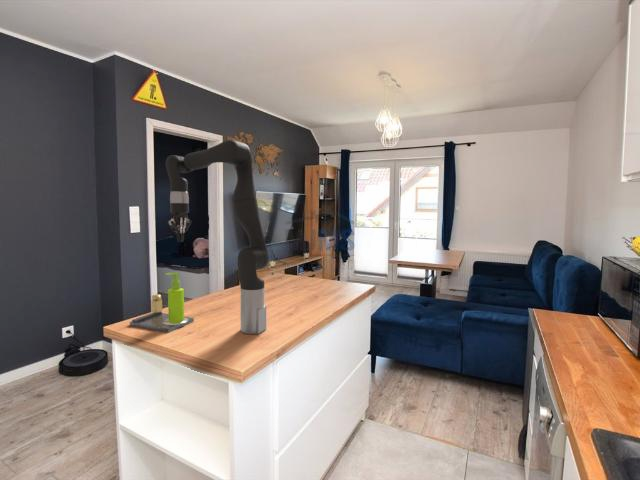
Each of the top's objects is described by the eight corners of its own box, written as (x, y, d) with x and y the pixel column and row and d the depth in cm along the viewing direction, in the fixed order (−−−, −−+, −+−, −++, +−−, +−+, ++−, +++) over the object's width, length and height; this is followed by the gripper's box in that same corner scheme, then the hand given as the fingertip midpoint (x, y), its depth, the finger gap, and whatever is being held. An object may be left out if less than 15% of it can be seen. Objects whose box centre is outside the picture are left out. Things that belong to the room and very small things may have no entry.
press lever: (163, 310, 150) (163, 295, 150) (156, 313, 147) (156, 297, 146) (157, 309, 152) (156, 294, 151) (150, 312, 148) (150, 296, 148)
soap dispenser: (165, 319, 142) (165, 272, 140) (183, 318, 144) (183, 271, 143) (165, 324, 136) (164, 274, 135) (184, 322, 139) (183, 273, 137)
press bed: (195, 321, 145) (195, 316, 145) (170, 332, 132) (169, 327, 132) (157, 315, 152) (157, 310, 152) (129, 325, 139) (129, 319, 139)
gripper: (175, 202, 143) (176, 243, 145) (196, 202, 156) (197, 240, 157) (161, 201, 146) (162, 242, 147) (183, 202, 158) (184, 240, 160)
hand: (180, 241), depth 152 cm, fingers closed
